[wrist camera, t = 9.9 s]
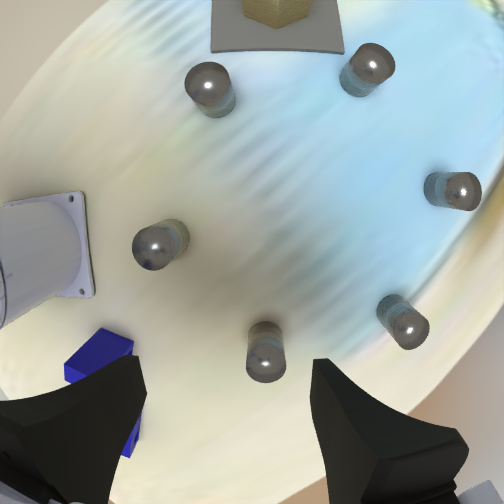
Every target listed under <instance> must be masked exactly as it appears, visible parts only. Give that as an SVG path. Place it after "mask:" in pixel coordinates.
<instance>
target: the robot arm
mask: <svg viewBox="0 0 504 504" xmlns="http://www.w3.org/2000/svg"><path fill="white" fill-rule="evenodd" d="M72 196H73V197H74V201H73V202H72V200H71V198H72ZM82 289H83V290H84V292H85V293H83V292H82ZM93 295H94V285H93V279H92V272H91V265H90V257H89V249H88V240H87V230H86V218H85V203H84V195H83V193H82V192H81V191H75V192H68V193H61V194H54V195H48V196H41V197H35V198H29V199H23V200H18V201H12V202H7V203H4V205H3V207H1V208H0V329H2V328H3V327H5V326H7V325H8V324H10V323H11V322H13V321H14V320H16V319H17V318H19V317H21V316H22V315H24V314H25V313H27V312H29V311H30V310H32V309H33V308H35V307H37V306H38V305H40V304H42V303H43V302H45V301H46V300H48V299H50V298H51V297H53V296H63V297H78V298H91V297H92V296H93ZM146 396H147V391H146V387H145V383H144V379H143V375H142V370H141V366H140V361H139V357H138V356H134V355H124V356H122V357H120V358H118V359H116V360H114V361H113V362H111V363H109V364H107V365H106V366H104V367H102V368H100V369H99V370H97V371H95V372H94V373H92V374H90V375H88V376H86V377H84V378H82V379H80V380H78V381H76V382H74V383H72V384H70V385H68V386H65V387H63V388H60V389H58V390H55V391H52V392H49V393H45V394H41V395H38V396H34V397H29V398H24V399H17V400H8V401H0V504H108V500H109V495H110V490H111V486H112V482H113V479H114V475H115V471H116V468H117V465H118V462H119V459H120V456H121V453H122V451H123V449H124V446H125V444H126V442H127V440H128V438H129V436H130V434H131V432H132V430H133V428H134V426H135V424H136V422H137V420H138V418H139V416H140V414H141V412H142V409H143V406H144V402H145V399H146ZM310 405H311V412H312V419H313V423H314V426H315V430H316V434H317V437H318V441H319V445H320V448H321V452H322V456H323V459H324V464H325V470H326V477H327V485H328V494H329V503H330V504H504V502H503V500H502V499H501V497H500V496H499V494H498V492H497V490H496V489H495V487H494V486H493V484H492V482H491V481H490V480H486V481H485V482H483V483H481V484H479V485H477V486H475V487H473V488H470V489H468V490H466V491H465V492H463V493H462V494H460V495H459V496H457V497H456V495H455V493H454V490H455V489H456V488H457V486H456V484H455V482H454V480H453V479H454V478H455V476H456V475H457V473H458V472H459V470H460V469H461V467H462V466H463V464H464V463H465V461H466V459H467V456H468V453H469V448H468V446H467V444H466V443H465V441H464V439H463V438H462V437H461V435H460V434H459V432H458V431H457V430H456V429H455V428H449V427H444V426H439V425H434V424H431V423H427V422H424V421H421V420H418V419H415V418H412V417H410V416H407V415H405V414H403V413H401V412H398V411H396V410H394V409H392V408H390V407H388V406H387V405H385V404H383V403H382V402H380V401H378V400H377V399H375V398H374V397H372V396H371V395H369V394H368V393H367V392H365V391H364V390H363V389H361V388H360V387H359V386H357V385H356V384H355V383H354V382H353V381H352V380H350V379H349V378H348V377H347V376H346V375H345V374H344V373H343V372H342V371H341V370H340V369H339V368H338V367H337V366H336V365H335V364H334V363H333V362H332V361H331V360H329V359H328V358H326V359H313V369H312V380H311V390H310Z"/></svg>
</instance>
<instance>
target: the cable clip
mask: <svg viewBox="0 0 504 504" xmlns="http://www.w3.org/2000/svg"><path fill="white" fill-rule="evenodd" d="M133 344H134V341H132V340H130V339H127V338H124V337H122V336H119V335H117V334H115V333H112V332H110V331H107V330H105V329H103V328H100V329H99V330H98V331H97V332H96V333H95V334H94V335H93V336H92V337H91V338H90V339H89V340H88V341H87V342H86V343H85V344H84V345H83V346H82V347H81V348H80V349H79V350H78V351H77V352H75V353H74V354H73V355H72V356H71V357H70V358H69V359H68V360H67V361H66V362H65V363H64V376H65V381H67V382H69V383H71V384H72V383H74V382H76V381H78V380H80V379H82V378H84V377H86V376H88V375H90V374H92V373H94V372H95V371H97V370H99V369H100V368H102V367H104V366H106V365H107V364H109V363H111V362H113V361H114V360H116V359H118V358H120V357H122V356H124V355H132V351H133ZM141 413H142V412H141ZM140 421H141V414H140V416H139V418H138V420H137V422H136V424H135V426H134V428H133V430H132V432H131V434H130V436H129V438H128V440H127V442H126V444H125V446H124V449H123V451H122V453H121V455H123V456H125V457H128V458H130V457H131V454H132V452H133V450H134V448H135V446H136V443H137V441H138V438H139V429H140Z"/></svg>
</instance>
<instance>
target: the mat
mask: <svg viewBox="0 0 504 504" xmlns="http://www.w3.org/2000/svg"><path fill="white" fill-rule="evenodd" d="M236 51H306V52H321V53H333V54H344V53H345V51H344V43H343V36H342V29H341V23H340V17H339V11H338V5H337V0H312V3H311V6H310V10H309V13H308V17H307V18H304V19H301V20H299V21H296V22H294V23H291V24H289V25H286V26H284V27H282V28H279V29H277V30H276V29H274V28H272V27H269V26H267V25H264V24H262V23H259V22H257V21H254V20H252V19H249V18H247V17H244V15H243V6H242V0H212V16H211V53H220V52H236Z"/></svg>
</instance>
